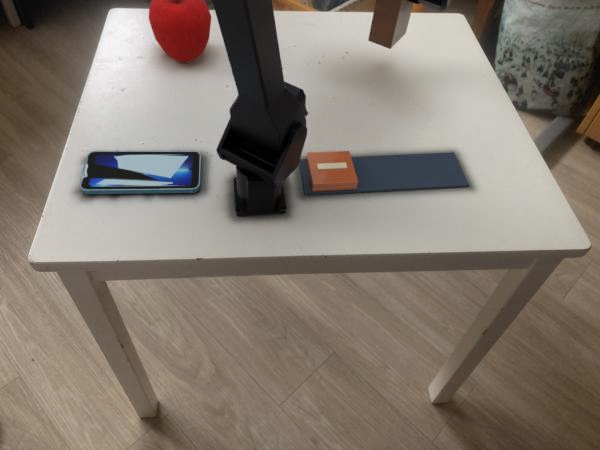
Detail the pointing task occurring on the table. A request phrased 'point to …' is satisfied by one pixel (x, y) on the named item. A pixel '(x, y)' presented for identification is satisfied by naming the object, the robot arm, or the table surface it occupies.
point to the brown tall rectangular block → (389, 21)
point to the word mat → (398, 173)
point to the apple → (181, 27)
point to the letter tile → (331, 171)
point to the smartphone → (141, 172)
